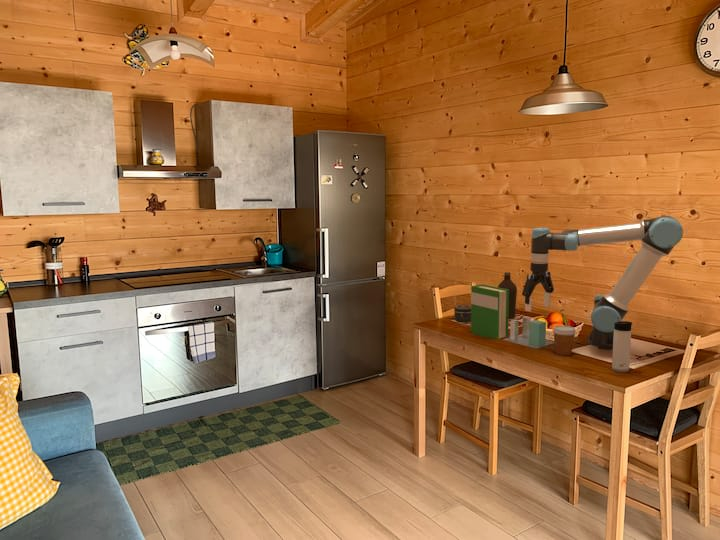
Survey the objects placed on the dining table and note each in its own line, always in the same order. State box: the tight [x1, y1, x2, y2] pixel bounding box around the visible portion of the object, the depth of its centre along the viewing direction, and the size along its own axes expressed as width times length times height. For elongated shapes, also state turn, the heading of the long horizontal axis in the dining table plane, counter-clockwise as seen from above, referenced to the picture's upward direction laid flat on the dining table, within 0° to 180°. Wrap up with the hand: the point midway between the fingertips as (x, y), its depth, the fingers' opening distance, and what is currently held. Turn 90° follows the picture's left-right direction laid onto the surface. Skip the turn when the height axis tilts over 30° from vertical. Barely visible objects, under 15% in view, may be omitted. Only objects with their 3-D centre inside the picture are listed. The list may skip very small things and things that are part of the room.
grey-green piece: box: [529, 319, 547, 347], centre depth 257 cm, size 5×5×11 cm
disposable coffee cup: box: [552, 324, 577, 356], centre depth 243 cm, size 10×10×12 cm
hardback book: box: [470, 284, 509, 340], centre depth 274 cm, size 18×7×24 cm, turn 33°
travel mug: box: [611, 320, 633, 373], centre depth 222 cm, size 6×7×20 cm
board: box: [501, 333, 555, 349], centre depth 263 cm, size 19×15×1 cm
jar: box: [453, 304, 471, 323], centre depth 307 cm, size 10×10×8 cm
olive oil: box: [497, 271, 518, 320], centre depth 311 cm, size 11×11×25 cm
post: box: [507, 319, 521, 343], centre depth 264 cm, size 4×4×10 cm
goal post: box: [519, 316, 531, 339], centre depth 269 cm, size 4×4×10 cm
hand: (537, 308), depth 255 cm, fingers open, 13 cm apart
